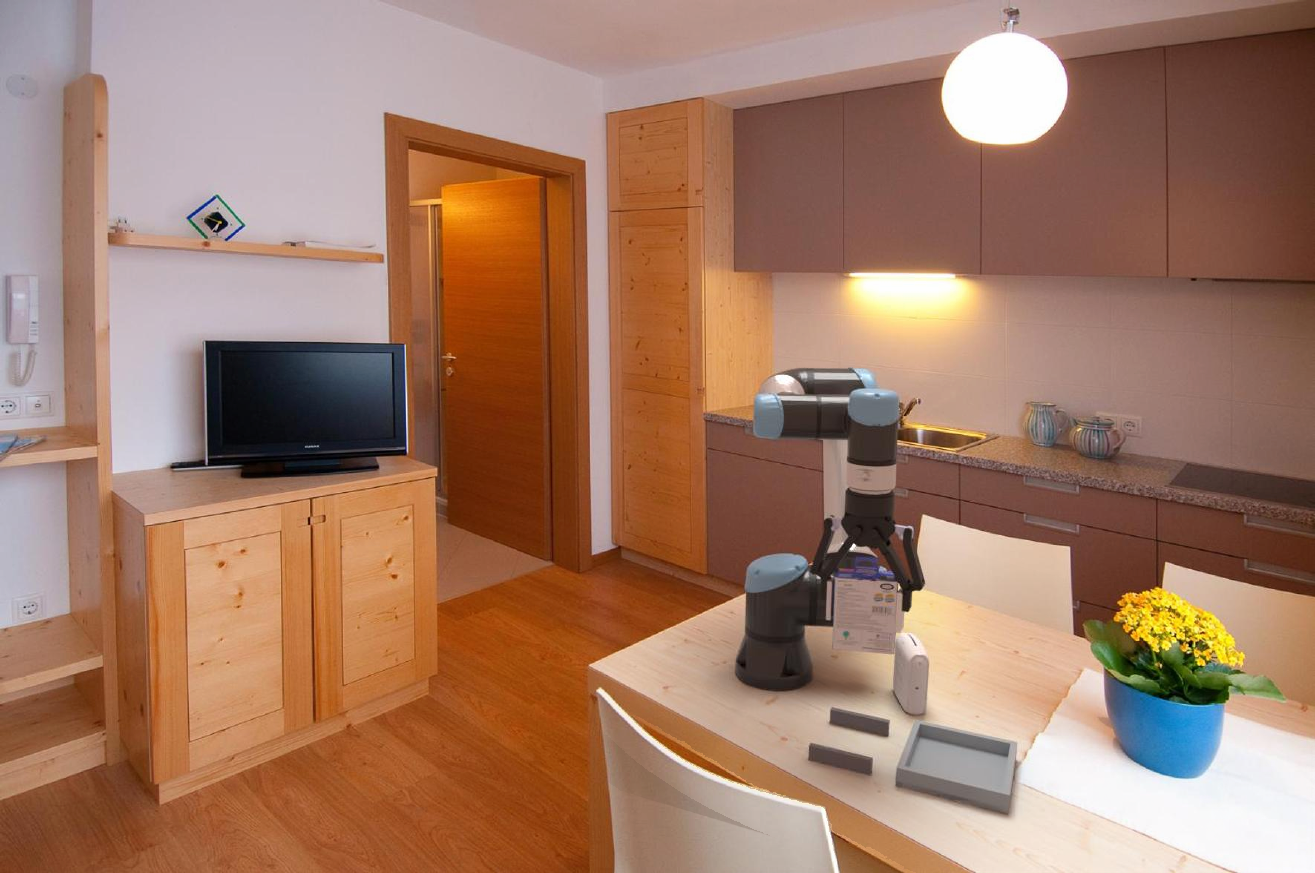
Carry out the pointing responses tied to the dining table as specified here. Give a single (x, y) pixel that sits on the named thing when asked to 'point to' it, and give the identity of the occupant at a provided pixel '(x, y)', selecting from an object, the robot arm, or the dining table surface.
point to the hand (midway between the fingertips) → (864, 623)
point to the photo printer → (911, 673)
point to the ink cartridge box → (864, 608)
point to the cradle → (843, 757)
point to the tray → (958, 765)
